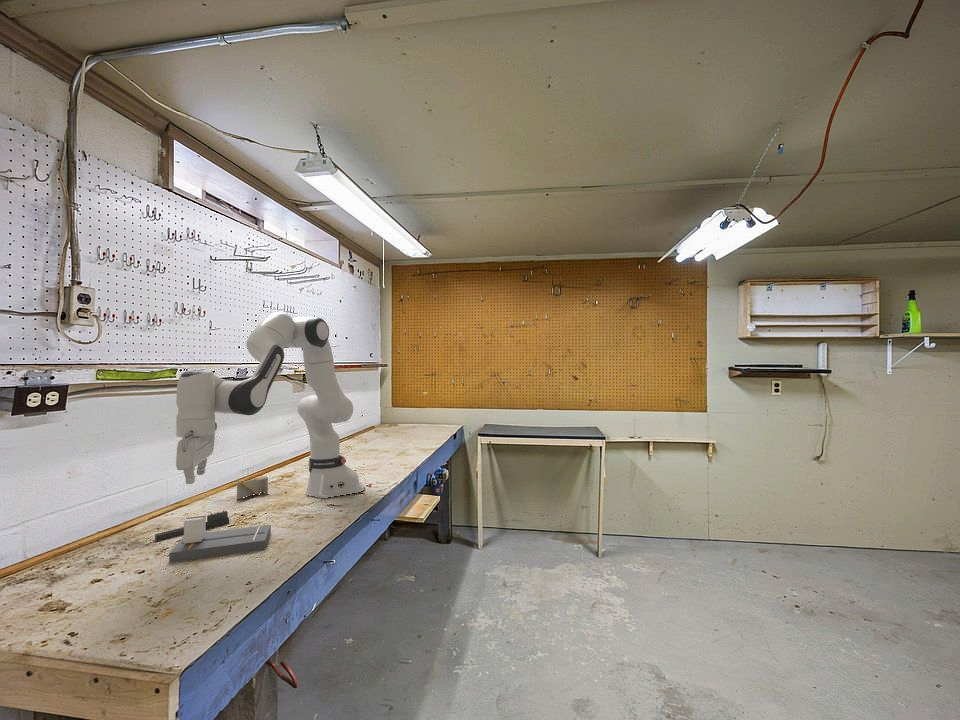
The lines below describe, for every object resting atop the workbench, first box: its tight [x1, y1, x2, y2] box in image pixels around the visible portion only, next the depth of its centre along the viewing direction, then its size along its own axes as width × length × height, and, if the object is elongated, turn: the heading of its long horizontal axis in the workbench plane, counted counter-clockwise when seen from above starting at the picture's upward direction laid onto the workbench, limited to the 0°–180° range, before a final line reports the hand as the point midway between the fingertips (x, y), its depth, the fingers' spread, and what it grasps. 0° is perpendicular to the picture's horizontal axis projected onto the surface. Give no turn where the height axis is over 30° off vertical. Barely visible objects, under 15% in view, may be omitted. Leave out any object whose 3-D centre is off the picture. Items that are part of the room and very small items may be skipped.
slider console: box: [168, 524, 272, 563], centre depth 115 cm, size 22×12×3 cm, turn 110°
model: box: [236, 475, 269, 500], centre depth 159 cm, size 3×11×8 cm, turn 154°
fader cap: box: [183, 513, 207, 543], centre depth 112 cm, size 4×4×6 cm
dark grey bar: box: [154, 509, 230, 542], centre depth 126 cm, size 19×3×4 cm, turn 137°
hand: (196, 478), depth 113 cm, fingers open, 8 cm apart
